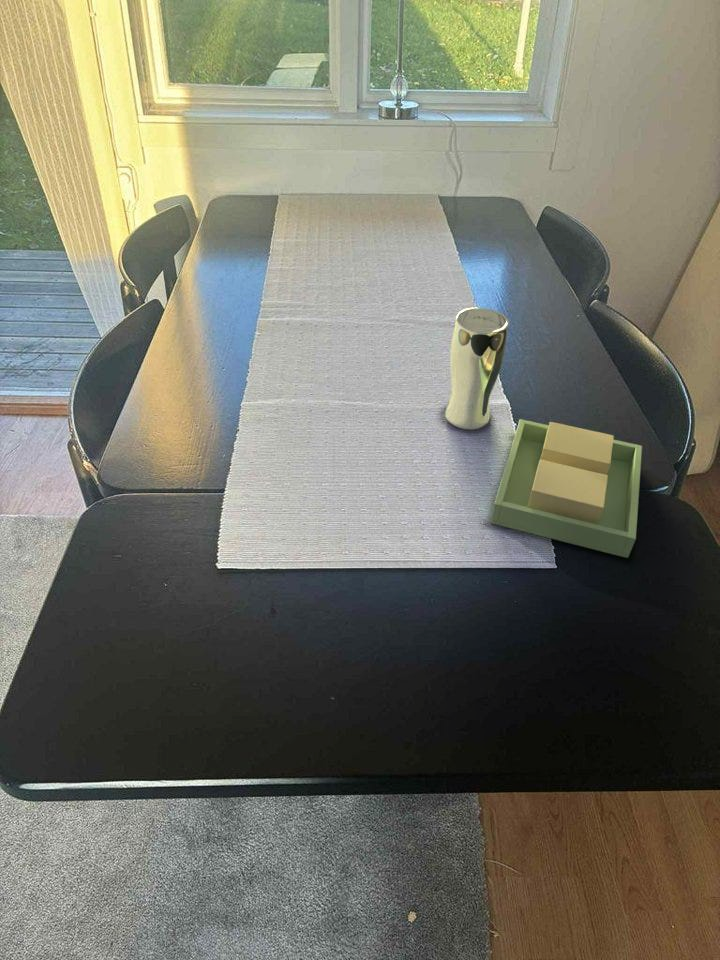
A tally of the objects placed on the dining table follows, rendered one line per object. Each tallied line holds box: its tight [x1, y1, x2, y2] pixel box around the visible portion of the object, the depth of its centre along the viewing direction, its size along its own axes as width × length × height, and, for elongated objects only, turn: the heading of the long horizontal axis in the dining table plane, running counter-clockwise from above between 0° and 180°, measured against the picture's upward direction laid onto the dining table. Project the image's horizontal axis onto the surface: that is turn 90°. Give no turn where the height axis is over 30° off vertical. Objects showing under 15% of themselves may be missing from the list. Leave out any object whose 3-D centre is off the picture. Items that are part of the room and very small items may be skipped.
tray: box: [490, 418, 643, 559], centre depth 85 cm, size 16×18×3 cm
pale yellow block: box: [540, 421, 615, 475], centre depth 88 cm, size 8×6×4 cm
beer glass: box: [444, 307, 510, 430], centre depth 93 cm, size 7×7×15 cm
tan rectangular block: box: [528, 460, 608, 525], centre depth 82 cm, size 8×6×4 cm
